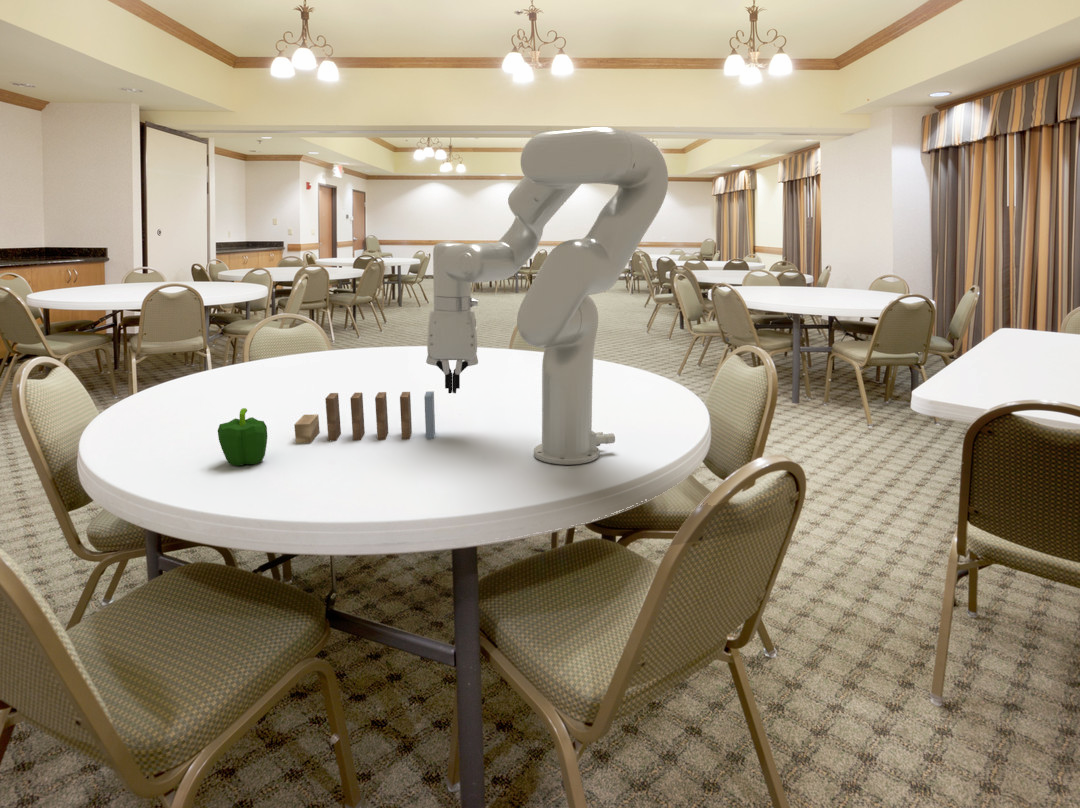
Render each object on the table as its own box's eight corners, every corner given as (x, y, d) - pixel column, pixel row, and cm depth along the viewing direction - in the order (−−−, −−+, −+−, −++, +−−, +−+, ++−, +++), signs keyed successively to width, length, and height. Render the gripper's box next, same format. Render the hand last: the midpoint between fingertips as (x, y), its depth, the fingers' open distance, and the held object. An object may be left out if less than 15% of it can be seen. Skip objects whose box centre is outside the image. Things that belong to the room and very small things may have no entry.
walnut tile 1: (411, 432, 153) (410, 391, 150) (409, 439, 148) (407, 397, 146) (404, 432, 152) (402, 391, 150) (401, 439, 148) (399, 397, 145)
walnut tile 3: (364, 433, 152) (362, 392, 150) (360, 440, 147) (358, 397, 145) (357, 433, 152) (354, 392, 150) (353, 440, 147) (350, 398, 145)
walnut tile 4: (341, 434, 151) (338, 392, 149) (336, 440, 147) (333, 398, 144) (333, 434, 151) (330, 393, 149) (328, 440, 146) (325, 398, 144)
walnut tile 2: (388, 432, 152) (386, 392, 150) (385, 439, 147) (383, 397, 145) (380, 433, 152) (378, 392, 150) (377, 439, 147) (375, 397, 145)
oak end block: (319, 432, 152) (318, 414, 152) (310, 443, 145) (309, 424, 144) (305, 432, 152) (303, 414, 151) (295, 443, 144) (294, 424, 144)
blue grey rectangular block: (435, 432, 153) (433, 391, 151) (433, 438, 148) (432, 396, 146) (427, 432, 153) (426, 391, 151) (426, 438, 148) (424, 396, 146)
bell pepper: (253, 471, 128) (248, 417, 125) (213, 468, 129) (206, 415, 127) (279, 457, 136) (274, 406, 133) (240, 454, 137) (235, 404, 135)
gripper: (488, 303, 149) (487, 388, 153) (416, 301, 147) (418, 387, 152) (489, 307, 141) (488, 396, 146) (413, 306, 140) (414, 395, 145)
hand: (452, 391), depth 149 cm, fingers closed
